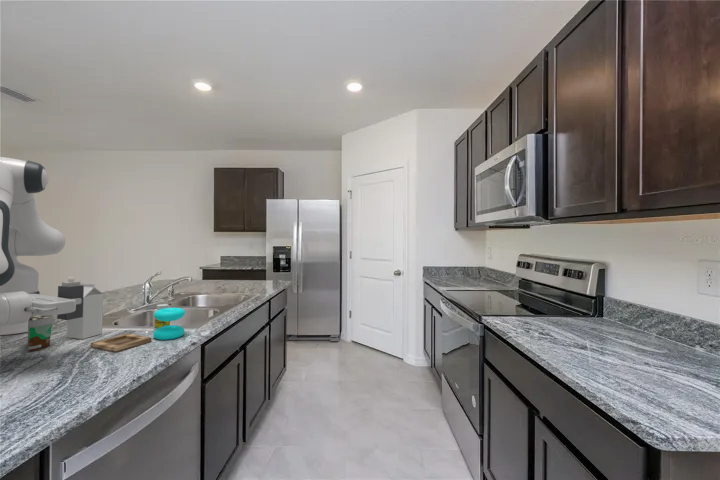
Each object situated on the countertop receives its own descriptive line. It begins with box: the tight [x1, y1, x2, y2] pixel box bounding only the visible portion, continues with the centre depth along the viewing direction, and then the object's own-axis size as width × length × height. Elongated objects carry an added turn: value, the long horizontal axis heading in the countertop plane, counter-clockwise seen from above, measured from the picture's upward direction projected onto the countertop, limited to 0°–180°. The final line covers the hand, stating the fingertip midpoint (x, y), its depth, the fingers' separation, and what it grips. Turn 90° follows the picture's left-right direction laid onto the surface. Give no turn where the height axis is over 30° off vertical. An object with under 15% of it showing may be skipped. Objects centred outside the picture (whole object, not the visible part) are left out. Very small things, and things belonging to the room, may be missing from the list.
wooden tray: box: [90, 332, 152, 354], centre depth 110 cm, size 12×12×2 cm
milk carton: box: [66, 282, 104, 340], centre depth 118 cm, size 7×7×19 cm
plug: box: [56, 276, 84, 321], centre depth 101 cm, size 4×4×13 cm
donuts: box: [152, 307, 186, 341], centre depth 121 cm, size 10×10×10 cm
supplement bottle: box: [153, 303, 171, 331], centre depth 130 cm, size 5×5×10 cm
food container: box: [27, 315, 56, 353], centre depth 107 cm, size 12×6×10 cm, turn 47°
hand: (73, 299), depth 102 cm, fingers closed on plug, 4 cm apart
